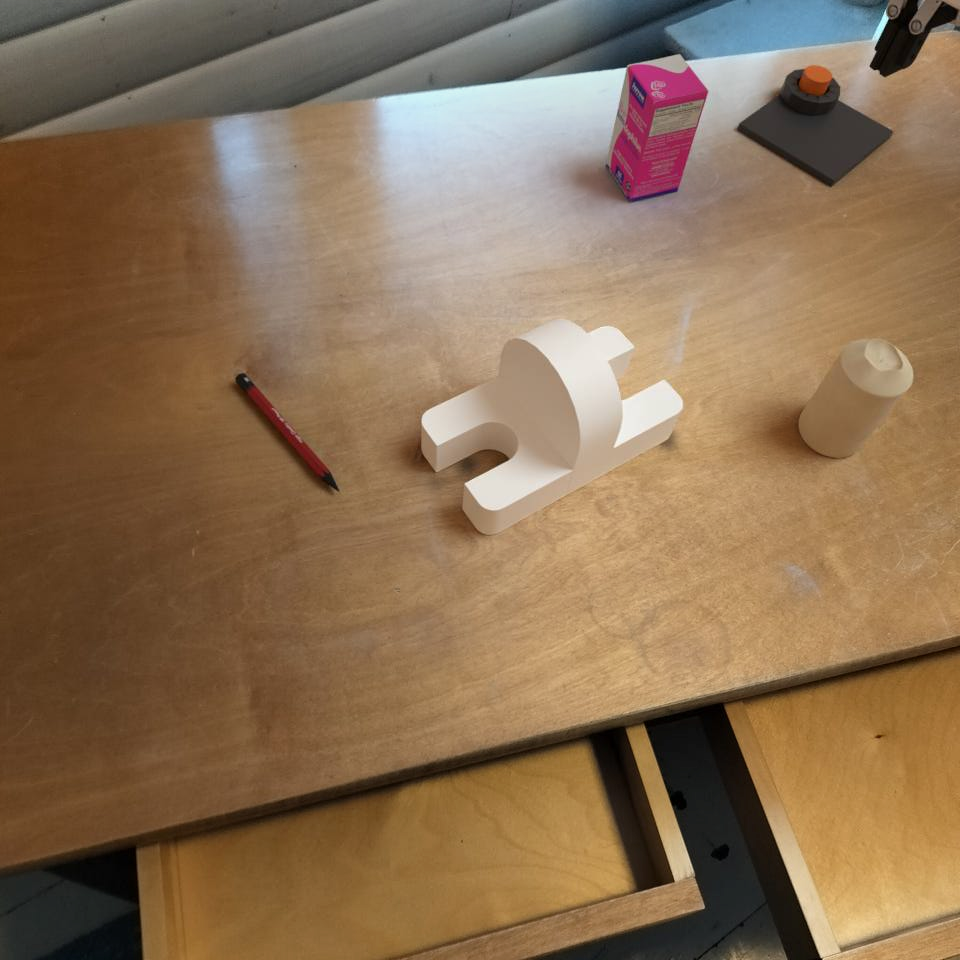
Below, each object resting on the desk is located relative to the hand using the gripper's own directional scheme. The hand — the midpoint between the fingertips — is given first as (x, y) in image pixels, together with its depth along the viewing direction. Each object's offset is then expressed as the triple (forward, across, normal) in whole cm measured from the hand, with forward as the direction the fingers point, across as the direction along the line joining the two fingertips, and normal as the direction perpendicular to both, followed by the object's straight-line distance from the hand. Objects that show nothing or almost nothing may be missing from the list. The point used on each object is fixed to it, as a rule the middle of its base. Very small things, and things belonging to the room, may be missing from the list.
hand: (887, 67), depth 71 cm
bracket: (+16, -6, +38) cm, 42 cm away
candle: (+16, -19, +18) cm, 31 cm away
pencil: (+16, +5, +56) cm, 58 cm away
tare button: (+14, +13, -13) cm, 23 cm away
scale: (+16, +9, -10) cm, 21 cm away
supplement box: (+16, +13, +11) cm, 24 cm away
